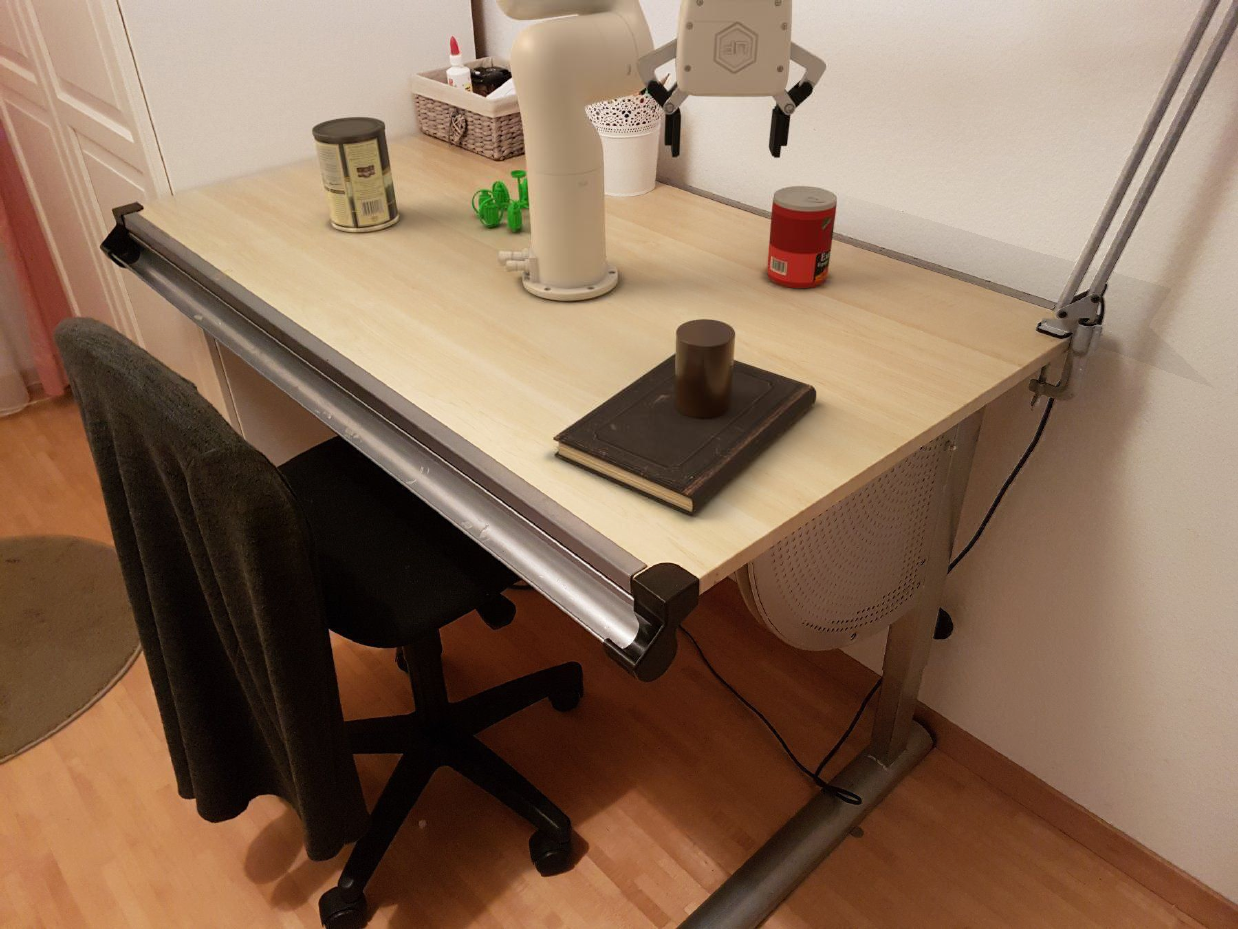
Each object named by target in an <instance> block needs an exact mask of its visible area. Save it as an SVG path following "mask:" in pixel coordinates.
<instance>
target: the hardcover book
mask: <svg viewBox="0 0 1238 929" xmlns="http://www.w3.org/2000/svg"><path fill="white" fill-rule="evenodd" d="M675 358H676V352H674V354H672V355H670V356H669V357H667V358H666V359H664V360H663V361H662V362H660V363H659V364H658V365H657V364H656V366H655V367H653V368H652V369H650V370H649V371H647V372H646V373H645V374H643V375H642V376H640V377H638V378H637V379H636V380H634V381H633V382H631V383H630V384H629V385H627V386H625V387H624V388H622V389H621V390H620V391H618V392H617V393H615V394H614V395H612V396H611V397H609V398H608V399H607V400H606V401H604V402H603V403H601V404H599V405H598V406H597V407H595V408H594V409H592V410H591V411H589V412H588V413H586V414H585V415H584V416H582V417H581V418H579V419H578V420H576V421H575V422H573V423H572V424H570V425H569V426H568V427H565V429H563V430H562V431H561V432H559V433H558V434H556V435H555V436H553V437H552V439H553V441H554V442H555V441H556V442H557V444H558V446H557V449H558V451H556V452H555V453H554V455H553V456H554V457H556V458H557V459H560V460H562V461H564V462H566V463H569V464H572V465H573V466H576V467H578V468H580V469H582V470H584V471H587V472H589V473H592V474H594V475H596V476H599V477H601V478H603V479H605V480H608V481H610V482H612V483H615V484H616V485H618V486H621V487H623V488H626V489H628V490H630V491H633V492H635V493H637V494H639V495H641V496H644V497H646V498H649V499H651V500H653V501H655V502H658V503H660V504H662V505H664V506H666V507H669V508H671V509H673V510H675V511H677V512H680V513H682V514H685V515H687V516H691V515H694V513H695V512H696V511H697V510H699V508H701V507H702V506H703V505H704V504H705V503H706V502H707V501H709V500H710V499H711V498H712V497H713V496H714V495H715V494H716V493H717V492H718V491H720V489H722V488H723V487H724V486H725V485H726V484H727V483H728V482H730V480H731V479H733V478H734V477H735V476H736V475H737V474H738V473H739V472H740V471H741V470H742V469H744V468H745V467H746V466H747V465H748V464H750V462H751V461H752V460H753V459H755V457H757V456H758V455H759V454H760V453H762V451H763V450H764V449H766V447H768V446H769V445H770V444H771V443H772V442H773V441H774V440H775V439H776V438H777V437H779V436H780V435H781V434H782V433H783V432H784V431H785V430H786V429H787V428H789V426H791V425H792V424H793V423H794V422H795V421H796V420H797V419H798V418H799V417H800V416H802V415H803V414H804V413H805V412H806V411H807V410H808V409H809V408H810V407H812V406H813V405H814V404H815V403H816V400H817V390H816V388H815V387H814V386H813V385H811V384H809V383H807V382H803V381H799V380H796V379H794V378H791V377H787V376H784V375H782V374H778V373H776V372H772V371H769V370H766V369H763V368H760V367H757V366H754V365H751V364H748V363H745V362H742V361H739V360H736V359H734V362H733V377H732V392H731V405H730V408H729V410H728V411H727V412H726V413H725V414H723V415H721V416H719V417H715V418H709V419H699V418H693V417H689V416H686V415H684V414H682V413H680V412H679V411H678V410H677V409H676V407H675V404H674V397H675Z"/></svg>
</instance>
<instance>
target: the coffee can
mask: <svg viewBox="0 0 1238 929" xmlns="http://www.w3.org/2000/svg"><path fill="white" fill-rule="evenodd" d="M311 133H312V137H313V138H314V143H315V147H316V148H315V149H316V152H317V158H318V163H319V167H320V168H319V169H320V172H321V177H322V182H323V187H324V191H325V196H326V200H327V205H328V206H327V207H328V211H329V216H330V220H331V221H330V224H331V226H332V227H333V228H334V229H335V230H338V231H341V232H345V233H368V232H375V231H380V230H383V229H386V228H388V227H391V226H392V225H394V224H396V223H397V222H398V221H399V219H400V214H399V210H398V204H397V199H396V192H395V186H394V179H393V174H392V168H391V161H390V160H391V159H390V154H389V148H388V142H387V135H386V124H385V121H383V120H381V119H378V118H374V117H368V116H367V117H366V116H352V117H351V116H349V117H348V116H347V117H340V118H335V119H334V118H333V119H330V120H326V121H323V122H320V123H317V124H315V125H314V126H313V127H312V129H311Z"/></svg>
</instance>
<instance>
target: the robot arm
mask: <svg viewBox="0 0 1238 929" xmlns="http://www.w3.org/2000/svg"><path fill="white" fill-rule="evenodd" d="M495 2H496V4H497V5H498V8H500V10H501V12H503V14H504V15H506V17H507V18H510V19H512V20H515V21H516V20H517V21H536V20H542V21H538V22H536V23H534V24H531V25H529V26H527V27H526V28H524V29H523V30H521V32H519V34H518V35H517V36H516V37H515V39H514V40H513V42H512V45H511V46H510V47H511V48H510V52H509V64H510V65H509V67H510V74H511V77H512V82H513V86H514V90H515V94H516V98H517V102H518V108H519V112H520V119H521V125H522V132H523V144H524V155H525V165H526V166H525V167H526V178H527V182H528V196H529V206H528V207H529V208H528V210H529V223H530V236H531V237H530V238H531V239H530V240H531V241H530V246H529V247H528V248H523V249H522V251H513V250H499V251H498V265H499V267H506V272H509V273H511V272H522V276H521V278H522V280H521V281H522V285H523V287H524V289H525V290H526V291H528V293H530V294H532V295H534V296H536V297H538V298H543V299H545V300H551V301H562V302H563V301H564V302H569V301H572V302H574V301H583V300H589V299H593V298H596V297H600V296H602V295H604V294H607V293H609V292H610V291H611V290H613V289H614V288H615V287H616V286H617V284H618V282H619V272H618V269H617V267H616V266H615V265H614V264H612V263H611V262H609V261H608V260H607V251H606V250H607V247H606V245H607V244H606V243H607V242H606V202H605V196H606V195H605V194H606V193H605V162H604V160H605V159H604V158H605V157H604V145H603V141H602V138H601V135H600V133H599V131H598V129H597V128H596V126H595V125H594V123H593V122H592V121H591V119H590V117H589V116H588V114H587V112H586V107H587V106H590V105H595V104H598V103H602V102H608V101H612V100H619V99H621V98H626V97H630V96H633V95H636V94H638V93H640V92H642V91H643V90H645V89H646V90H647V94H648V95H649V96H650V97H651V98H652V99H653V100H654V101H655V102H656V103H657V104H658V106H660V108H661V109H662V110H663V112H664V135H663V138H664V140H663V142H664V143H663V144H664V146H665V147H667V146H668V147H669V146H670V153H671V158H678V157H680V154H681V134H682V133H681V132H682V131H681V130H682V129H681V128H682V113H681V108H680V106H682V104H683V103H684V102H685V101H686V100H687V99H688V97H689V96H692V97H705V98H707V97H710V98H711V97H712V98H713V97H714V98H718V97H719V98H722V97H723V98H760V97H761V98H762V97H763V98H765V97H772V99H773V100H774V101H775V105H774V107H773V108H772V110H771V118H770V119H771V120H770V128H769V139H768V150H769V152H770V155H771V157H773V158H774V159H780V158H781V153H782V152H781V151H782V147H787V146H788V143H789V132H790V124H791V115H793V114H794V113H795V112H796V109H797V108H798V107H799V106H800V105H801V104H803V102H805V101H806V100H807V99H808V98H809V97H810V96H811V95H812V94H813V91H814V88H815V87H816V86H817V84H818V83H819V81H820V80H821V78H822V77H823V75H824V73H825V71H826V70H827V64H826V62H825V61H824V60H823V59H822V58H820V57H819V56H817V55H816V54H814V53H812V52H810V51H808V49H805V48H804V47H802V46H800V45H799V44H797V43H796V42H794V41H792V30H793V29H792V24H793V0H681V1H680V7H679V12H678V22H677V31H676V38H675V39H673V40H670V41H669V42H667V43H665V44H663V45H661V46H660V47H657V48H655V44H654V40H653V36H652V33H651V30H650V27H649V23H648V21H647V19H646V16H645V14H644V11H643V9H642V6H641V4H640V1H639V0H495ZM544 19H545V20H544ZM546 19H547V20H546ZM673 60H674V62H675V64H674V65H675V66H674V67H675V79H676V80H675V82H674V83H673V84H672V85H671V87H670V88H669V89H667V88H666V87H665V86H664V85H663V84H662V82H660V80H659V79H658V76H657V75H656V72H655V71H656V69H658V68H659V67H661V66H663V65H665V64H667V63H669V62H670V61H673ZM790 61H792V62H794V63H796V64H797V65H799V66H801V67H802V68H804V69H805V71H804V73H803V75H802V77H801V79H800V80H798V81H797V82H796V83H795V85H793V86H792V87H791V88H790V89H789V90H788V91H787V89H786V88H787V85H788V81H789V76H790V75H789V74H790V65H791V64H790V63H791V62H790Z"/></svg>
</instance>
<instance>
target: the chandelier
mask: <svg viewBox="0 0 1238 929" xmlns="http://www.w3.org/2000/svg"><path fill="white" fill-rule="evenodd" d="M510 177H511V178H514V179H517V189H518V200H514V199H512V198H511V197H510V192H509V189H508V186H506V184H505V183H504V182H503V181H502V180H496V181H494V182H493V183H492V186H491V190H490V189H487V188H483V189H479V190H477V191H476V192H475V193H474V195H473V196H472V198H471V207H472V209H473V210H474V213H476V214H477V217H478V220H479V222H480V224H482V225H483V226H485V227H488V228H493V227H496V226H498V225H499V224H500V222H501V221H502V220H503V218H504V214H505V210H507V212H506V221H507V226H508V228H509V229H511V231H512V232H514V233H515V232H518V229H521V228H522V226H523V218H522V216H523V215H522V211H521V209H526V208H527V209H529V196H528V182H527V171H526V170H522V169H515V170H512V171H511V172H510ZM521 179H523V180H522V183H521ZM479 193H481V194H479ZM478 194H479V195H478ZM477 195H478V196H479V197H478V209H477V208H476V205H475V197H476V196H477ZM499 210H500V214H499ZM482 218H484V221H483V219H482Z"/></svg>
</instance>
